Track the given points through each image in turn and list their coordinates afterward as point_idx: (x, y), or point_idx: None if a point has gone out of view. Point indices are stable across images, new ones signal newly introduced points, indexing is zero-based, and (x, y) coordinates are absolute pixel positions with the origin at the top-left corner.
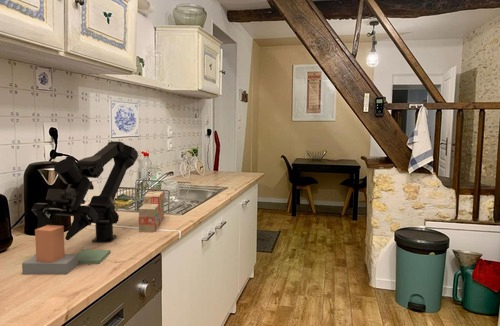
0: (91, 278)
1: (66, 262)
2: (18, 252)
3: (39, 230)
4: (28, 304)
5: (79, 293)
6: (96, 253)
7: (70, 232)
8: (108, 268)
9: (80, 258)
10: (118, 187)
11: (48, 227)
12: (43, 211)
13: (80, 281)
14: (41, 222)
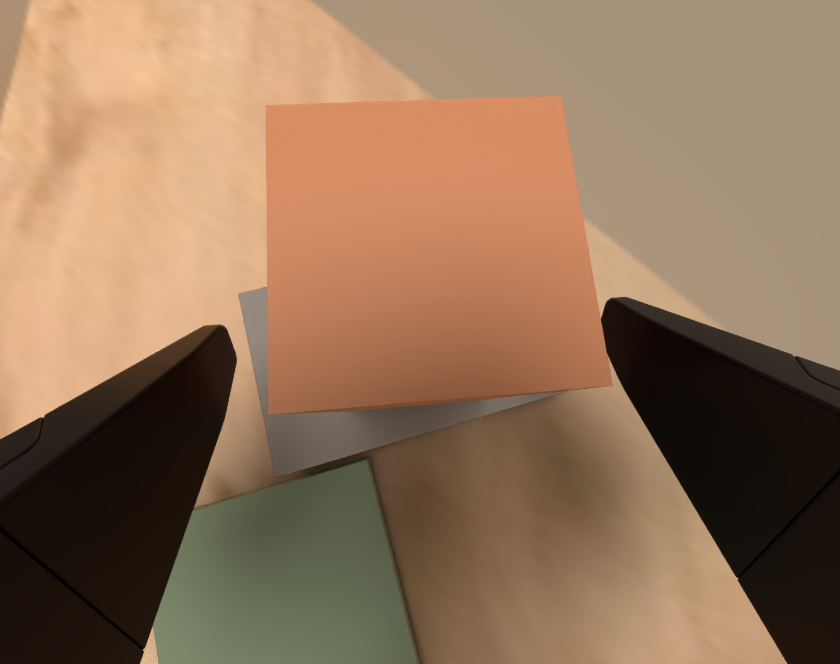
0: (82, 303)
1: (251, 311)
2: None
3: (479, 102)
4: (217, 22)
5: (49, 144)
6: (249, 661)
7: (129, 369)
8: None
9: (306, 517)
10: None
11: (465, 251)
12: None
13: (125, 255)
14: (794, 388)
